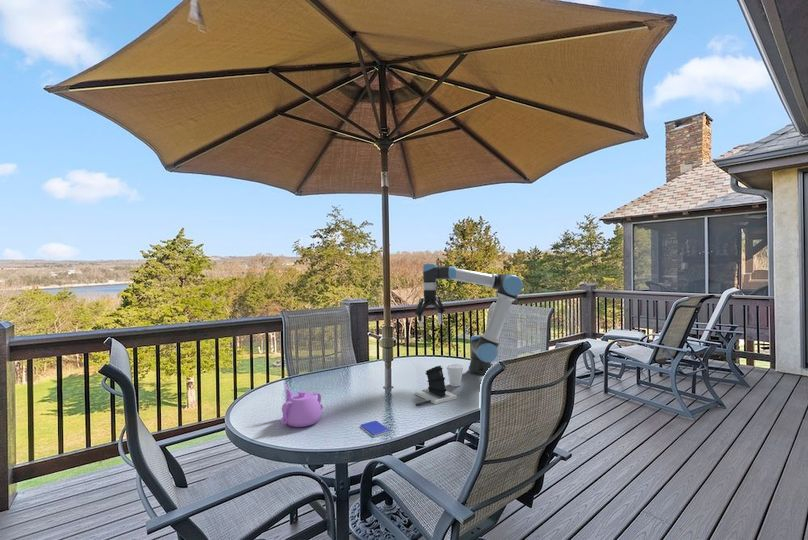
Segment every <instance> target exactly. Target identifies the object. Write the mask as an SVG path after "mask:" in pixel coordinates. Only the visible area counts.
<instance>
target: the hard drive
mask: <svg viewBox="0 0 808 540" xmlns="http://www.w3.org/2000/svg"><path fill="white" fill-rule="evenodd" d="M359 426H360V428H361V429H362V430H364V431H365V432H366V433H367V434H369V435H370V436H372V437H373V438H377V437H379V436H384V435H386V434H387V435H388V434H391V433H392V430H391V429H390V428H388V427H387V426H385V425H384V424H382V423H380V422H379V421H378V420H372V421H369V422H365V423H362V424H360V425H359Z"/></svg>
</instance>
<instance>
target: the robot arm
mask: <svg viewBox="0 0 808 540" xmlns="http://www.w3.org/2000/svg"><path fill="white" fill-rule="evenodd" d="M422 268H423V269H422V276H423V277H422V278H423V280H422V281H423V298H421V297H419V301H418V304H417V307H416V309H415V312H414V314H415V315H417V320H418V322H419V323H418V324H419V325H418V326H419V327H421V328H422V327H424V315H423V313H424V312H425V311H426V308H427V307H428V306H433V307H434V308H435V310H436V311H437V324H438V325H442V318H443V313H444V312H445V311H446V310H445V308H444V305H443V302H442V300H441V297H440V296H437V290H436V289H437V280H453V281H457V282H463V283H468V284H469V283H470V284H472V285H473V284H475V285H481V286H485V287H489V289H491V290H492V289H493V290H496V291H497V292H496V295H497V299H496V301H495V304H494V306H493V310H492V312H491V315H490V317H489V320H488V323H487V324H486V325H487V326H486V328H485V330H484V333H483V334H474V335H472V336H471V337H470V362H469V365H468V373H470V374H473V375H479V376H483V375H484V376H485V373H486V371H487V370H488V368H490V367H491V366H493V365H492V362H494V361H495V360H496V359H497V357H498V356H499V355H498V354H499V351H498V348H499V345H500V341H499V338H500V335H501V333H502V330H503V327H504V324H505V322H506V319H507V316H508V314H509V311H510V309H511V306H512V303H513V302H514V301H516V300H517V298H518V295H519V294H520V293H522V291H523V288H524V283H523V280H522V279H521V277H519V276H517V275H516V274H508V273H491V274H490V273H484V272H480V271H479V272H478V271H472V270H467V269H462V268H456V267H455V266H453V265H451V266H449V265H448V266H447V265H446V266H445V265H440V266H437V264H436V263H435V262H434V263H423V267H422Z"/></svg>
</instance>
